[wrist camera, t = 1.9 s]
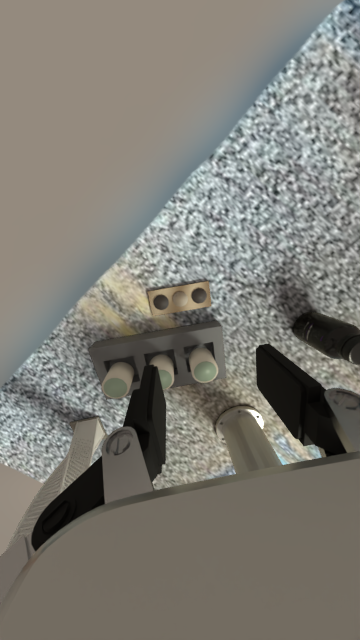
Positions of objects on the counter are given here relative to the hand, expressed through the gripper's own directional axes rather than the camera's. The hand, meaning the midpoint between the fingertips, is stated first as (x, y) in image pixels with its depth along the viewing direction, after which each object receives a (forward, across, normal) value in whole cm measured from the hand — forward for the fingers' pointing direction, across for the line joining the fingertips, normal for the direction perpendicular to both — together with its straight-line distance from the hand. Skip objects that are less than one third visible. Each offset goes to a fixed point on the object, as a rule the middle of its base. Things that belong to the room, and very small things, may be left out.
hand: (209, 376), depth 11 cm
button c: (+22, +14, +12) cm, 29 cm away
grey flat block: (+26, +6, +12) cm, 29 cm away
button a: (+22, -2, +12) cm, 25 cm away
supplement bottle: (+26, -27, +11) cm, 39 cm away
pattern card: (+26, 0, 0) cm, 26 cm away
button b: (+22, +6, +12) cm, 26 cm away
